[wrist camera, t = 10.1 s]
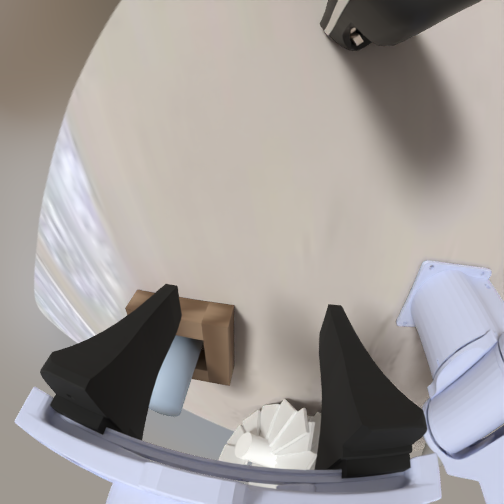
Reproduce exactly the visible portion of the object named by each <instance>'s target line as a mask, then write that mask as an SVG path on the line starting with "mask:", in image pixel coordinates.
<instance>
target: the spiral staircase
mask: <svg viewBox="0 0 504 504" xmlns="http://www.w3.org/2000/svg"><path fill="white" fill-rule="evenodd" d="M320 424H321V413H320V412H317V413H316V414H315V415H314V417H313V416H307V412H306V409H305V408H302V409H301V410H299V411H297V410H296V409H295V408H294V407H293V406H292V405H291V404H290V403H289V402H288V401H287V400H286V399H284V400H283V401H282V403H281V404H271V405H263V408H262V410H261V413H260V410H257V411H255V412H254V413H253V414H251V415H250V416H249V417H247V418H246V419H245V420H243V426H242V425H239V426H238V428H237V429H236V430H235V432H234V433H233V435H232V436H231V437H230V439H229V440H228V441H227V444H228V445H226V444H225V447H224V448H223V451H222V453H221V455H220V457H219V460H218V461H224V462H230V463H236V464H243V465H247V463H248V461H250V462H253V464H252V466H258V467H268V468H280V469H298V470H314V469H315V464H316V457H317V451H318V443H319V435H320ZM249 485H253V486H260V487H266V488H274V489H276V487H277V486H278V485H273V484H262V483H253V482H249Z"/></svg>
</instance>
